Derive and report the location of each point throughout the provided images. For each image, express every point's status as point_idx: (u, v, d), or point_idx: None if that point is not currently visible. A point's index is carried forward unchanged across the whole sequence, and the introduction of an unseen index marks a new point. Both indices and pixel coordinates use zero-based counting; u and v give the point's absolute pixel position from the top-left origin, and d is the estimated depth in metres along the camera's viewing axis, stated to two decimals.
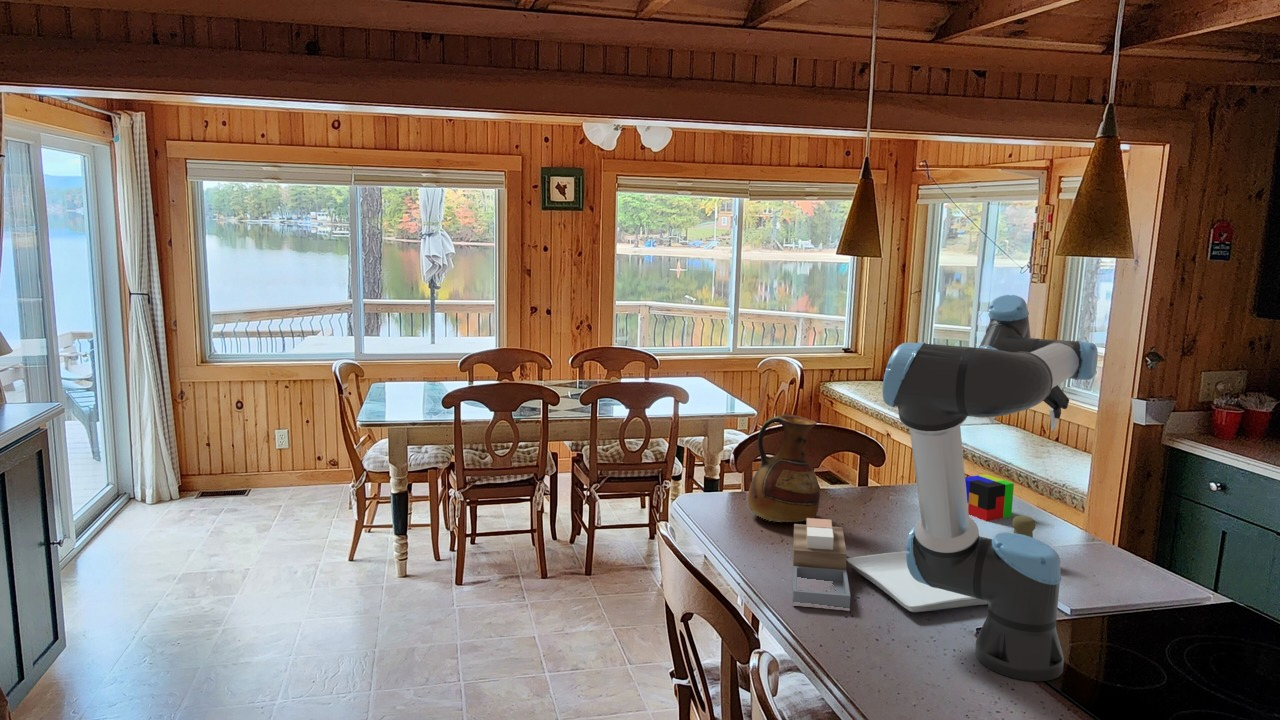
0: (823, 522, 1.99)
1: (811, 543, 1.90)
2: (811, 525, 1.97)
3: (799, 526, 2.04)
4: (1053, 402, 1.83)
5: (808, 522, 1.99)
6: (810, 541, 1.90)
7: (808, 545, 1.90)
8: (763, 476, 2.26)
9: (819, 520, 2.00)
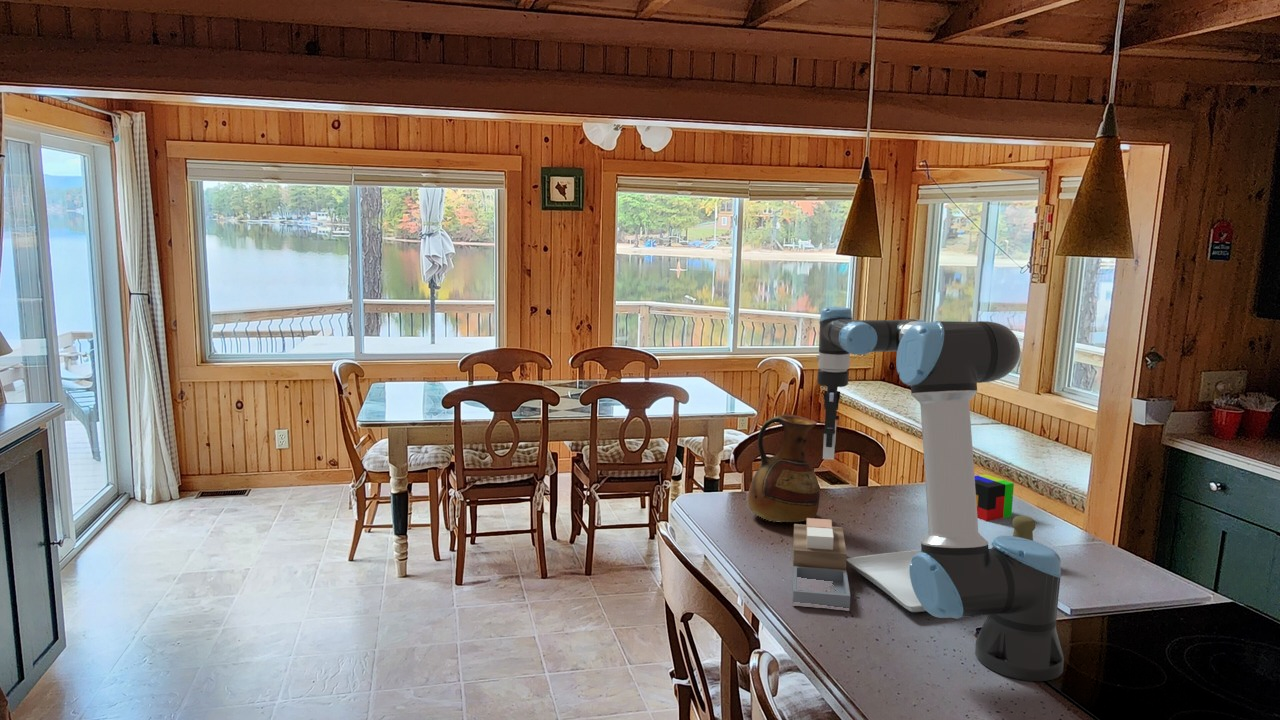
0: (823, 522, 1.99)
1: (811, 543, 1.90)
2: (811, 525, 1.97)
3: (799, 526, 2.04)
4: None
5: (808, 522, 1.99)
6: (810, 541, 1.90)
7: (808, 545, 1.90)
8: (763, 476, 2.26)
9: (819, 520, 2.00)
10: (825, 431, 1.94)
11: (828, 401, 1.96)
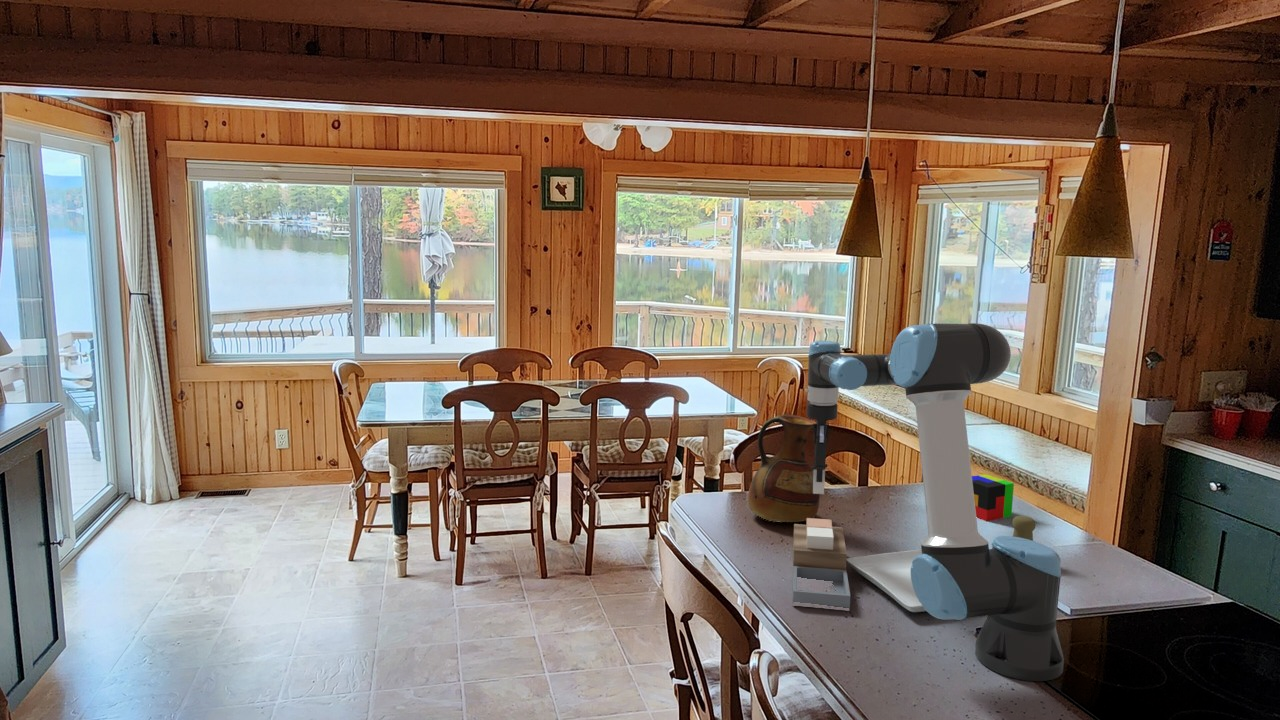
0: (823, 522, 1.99)
1: (811, 543, 1.90)
2: (811, 525, 1.97)
3: (799, 526, 2.04)
4: None
5: (808, 522, 1.99)
6: (810, 541, 1.90)
7: (808, 545, 1.90)
8: (763, 476, 2.26)
9: (819, 520, 2.00)
10: (816, 468, 2.02)
11: (818, 442, 1.99)
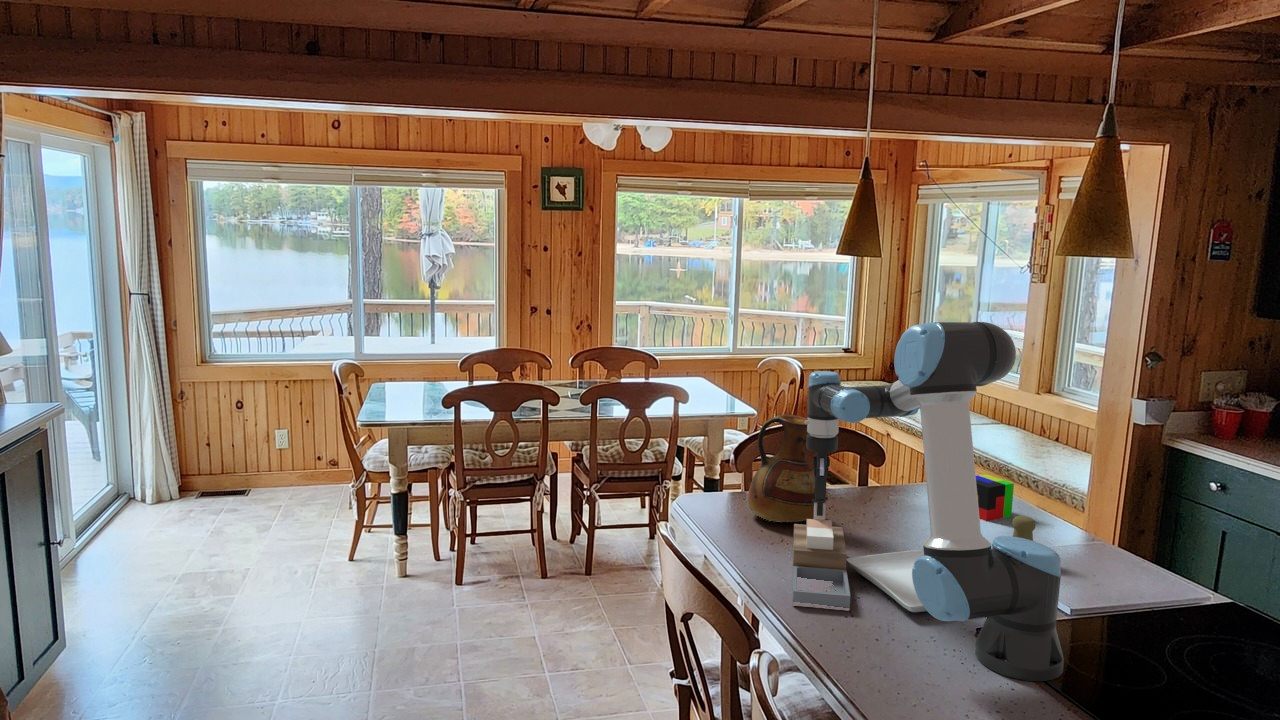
0: (823, 523, 1.98)
1: (811, 543, 1.90)
2: (811, 526, 1.96)
3: (799, 526, 2.04)
4: None
5: (808, 523, 1.98)
6: (810, 541, 1.90)
7: (808, 545, 1.90)
8: (763, 476, 2.26)
9: (819, 521, 1.99)
10: (816, 502, 1.97)
11: (818, 475, 1.94)
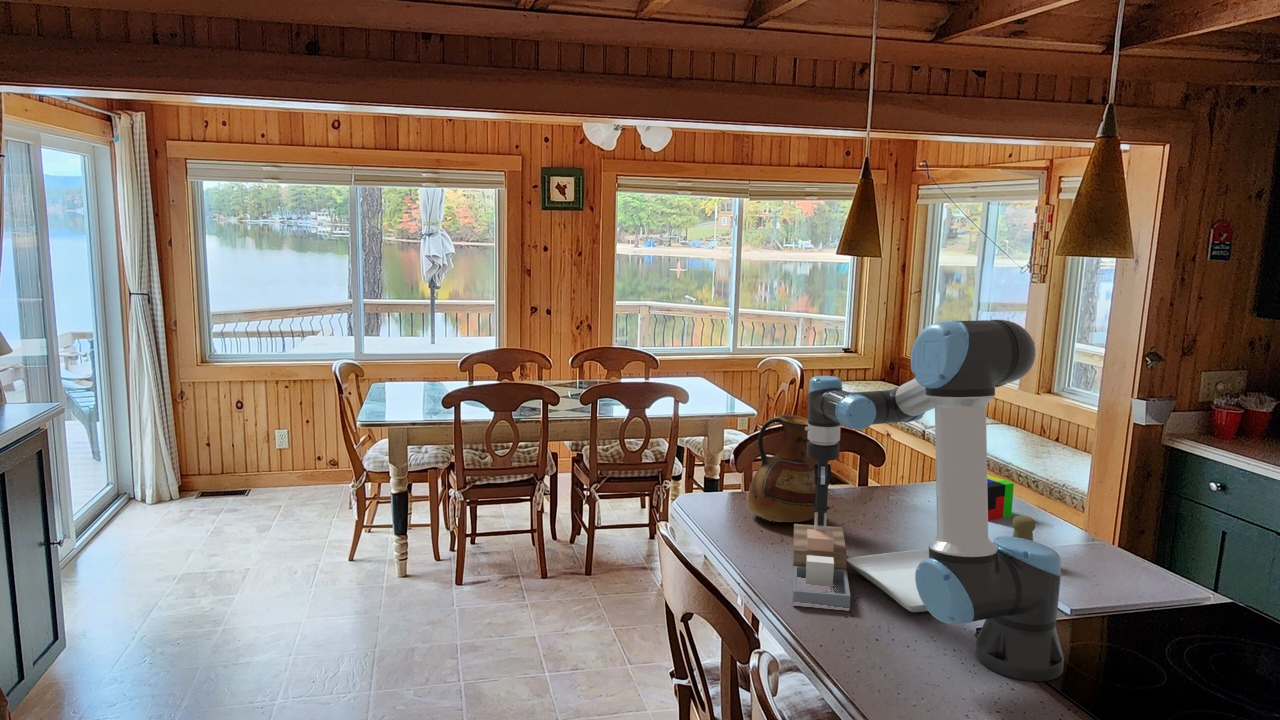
0: (824, 534, 1.91)
1: None
2: (812, 537, 1.89)
3: (799, 526, 2.04)
4: None
5: (809, 533, 1.91)
6: None
7: None
8: (763, 476, 2.26)
9: (820, 531, 1.92)
10: (817, 511, 1.90)
11: (819, 484, 1.87)
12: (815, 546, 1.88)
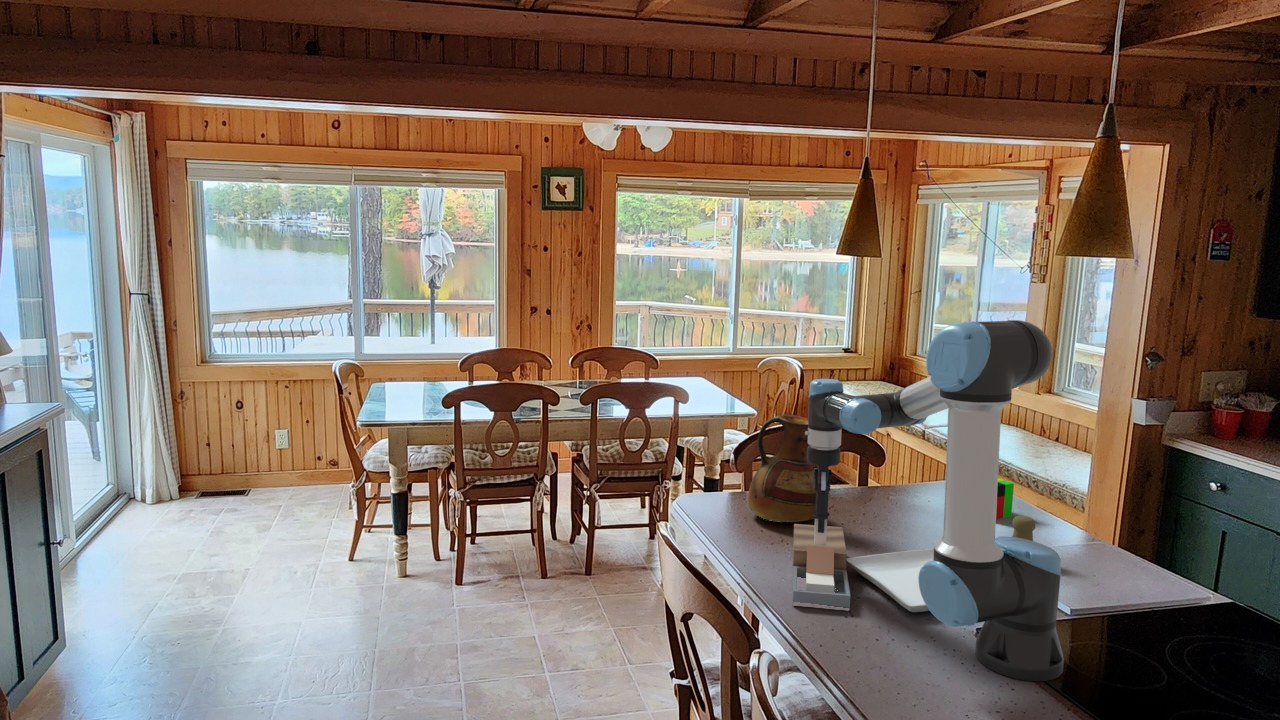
0: (824, 558, 1.84)
1: None
2: (811, 569, 1.84)
3: (799, 526, 2.04)
4: None
5: (808, 559, 1.85)
6: None
7: None
8: (763, 475, 2.26)
9: (820, 552, 1.85)
10: (817, 518, 1.85)
11: (820, 490, 1.82)
12: None
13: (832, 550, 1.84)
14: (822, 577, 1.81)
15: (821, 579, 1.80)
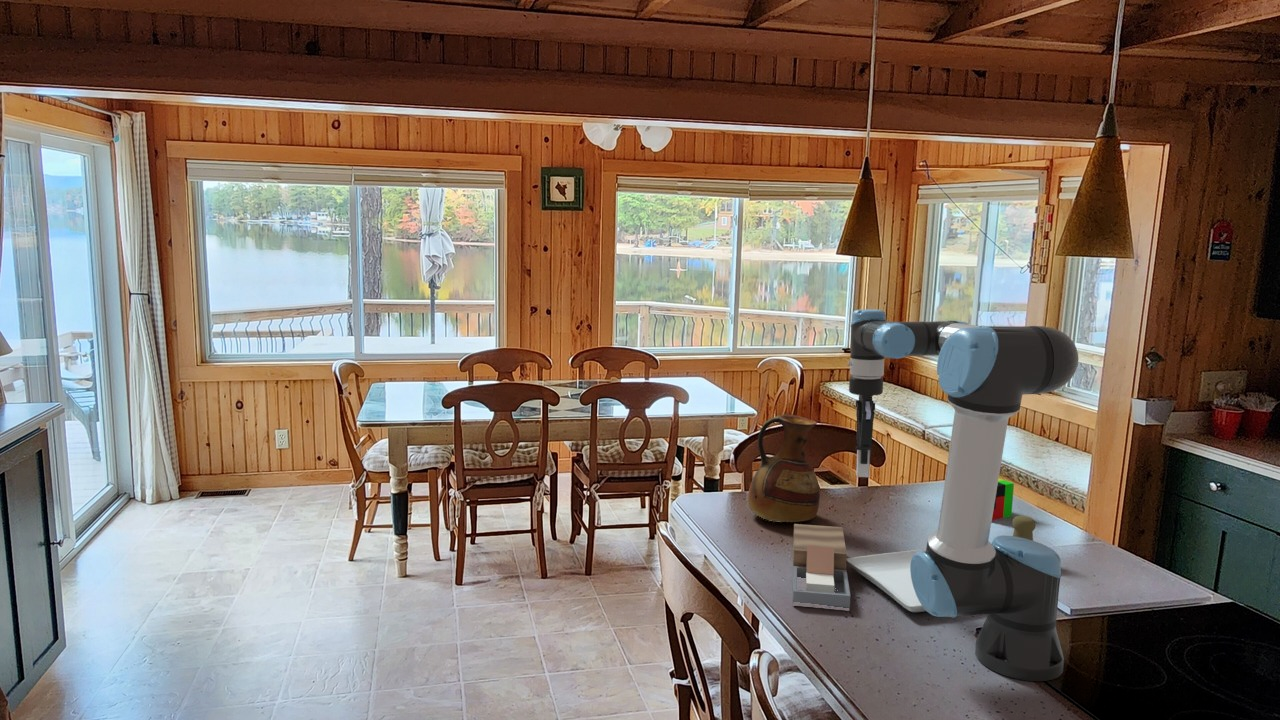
0: (824, 558, 1.84)
1: None
2: (811, 569, 1.84)
3: (799, 526, 2.04)
4: None
5: (808, 559, 1.85)
6: None
7: None
8: (763, 475, 2.26)
9: (820, 552, 1.85)
10: (861, 448, 1.85)
11: (865, 419, 1.82)
12: None
13: (832, 550, 1.84)
14: (822, 577, 1.81)
15: (821, 579, 1.80)
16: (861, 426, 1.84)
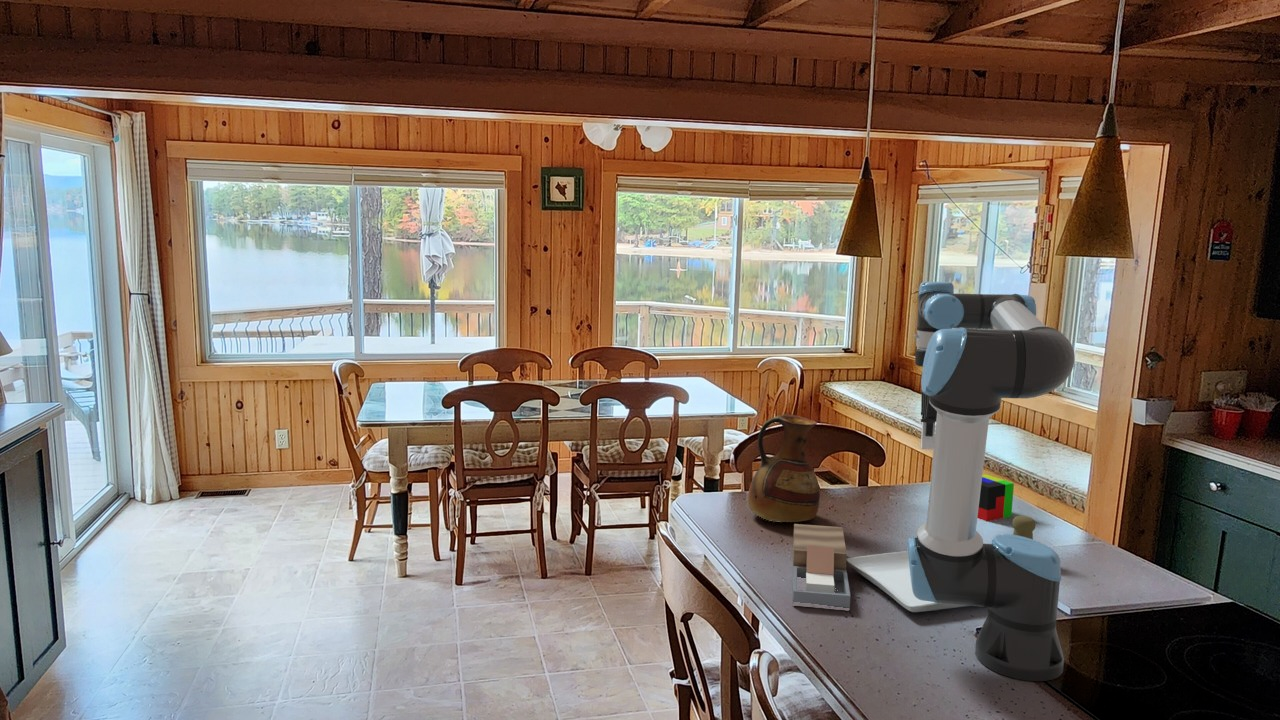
0: (824, 558, 1.84)
1: None
2: (811, 569, 1.84)
3: (799, 526, 2.04)
4: None
5: (808, 559, 1.85)
6: None
7: None
8: (763, 475, 2.26)
9: (820, 552, 1.85)
10: (927, 420, 1.85)
11: None
12: None
13: (832, 550, 1.84)
14: (822, 577, 1.81)
15: (821, 579, 1.80)
16: (927, 398, 1.84)
